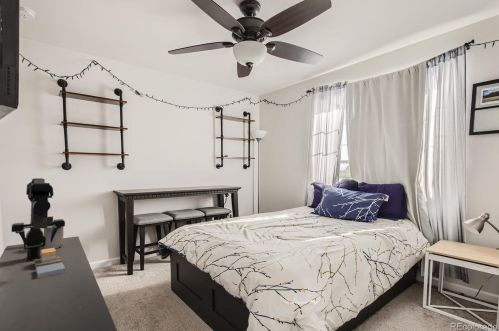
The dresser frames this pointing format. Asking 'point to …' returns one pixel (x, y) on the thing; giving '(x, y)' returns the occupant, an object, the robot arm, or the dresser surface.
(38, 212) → the robot arm
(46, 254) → the cover
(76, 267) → the dresser surface
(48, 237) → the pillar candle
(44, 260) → the housing base
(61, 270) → the slate stand
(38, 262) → the walnut stand
